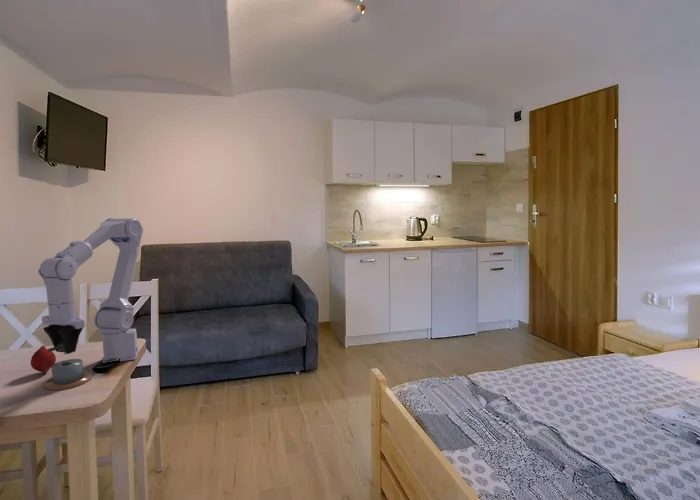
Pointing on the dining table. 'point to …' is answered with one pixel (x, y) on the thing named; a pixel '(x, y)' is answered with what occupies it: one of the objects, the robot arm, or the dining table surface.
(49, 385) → the dispenser
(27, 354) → the dining table surface
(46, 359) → the red round fruit
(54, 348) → the pump head
